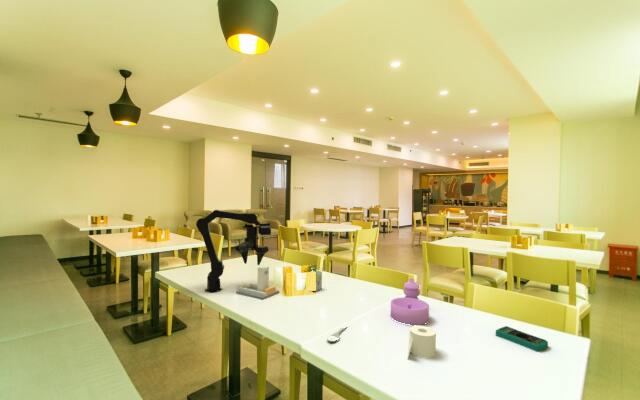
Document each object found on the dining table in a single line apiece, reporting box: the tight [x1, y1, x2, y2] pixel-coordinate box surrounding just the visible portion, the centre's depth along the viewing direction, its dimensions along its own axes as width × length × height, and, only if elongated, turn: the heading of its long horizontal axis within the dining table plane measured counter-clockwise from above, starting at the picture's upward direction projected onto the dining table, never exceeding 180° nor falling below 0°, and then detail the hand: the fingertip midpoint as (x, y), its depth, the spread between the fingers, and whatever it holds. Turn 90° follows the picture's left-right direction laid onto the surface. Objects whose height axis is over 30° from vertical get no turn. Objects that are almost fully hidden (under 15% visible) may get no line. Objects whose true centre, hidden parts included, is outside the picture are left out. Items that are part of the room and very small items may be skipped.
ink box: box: [308, 264, 323, 292], centre depth 166 cm, size 7×4×13 cm, turn 143°
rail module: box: [257, 265, 270, 292], centre depth 158 cm, size 4×4×13 cm
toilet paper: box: [406, 325, 437, 359], centre depth 100 cm, size 8×11×7 cm
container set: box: [390, 278, 430, 326], centre depth 133 cm, size 25×15×13 cm, turn 160°
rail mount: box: [235, 283, 280, 301], centre depth 160 cm, size 18×13×4 cm
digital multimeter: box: [495, 325, 549, 353], centre depth 109 cm, size 7×15×3 cm, turn 31°
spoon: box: [326, 327, 346, 343], centre depth 114 cm, size 4×21×2 cm, turn 154°
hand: (251, 264), depth 168 cm, fingers open, 9 cm apart
